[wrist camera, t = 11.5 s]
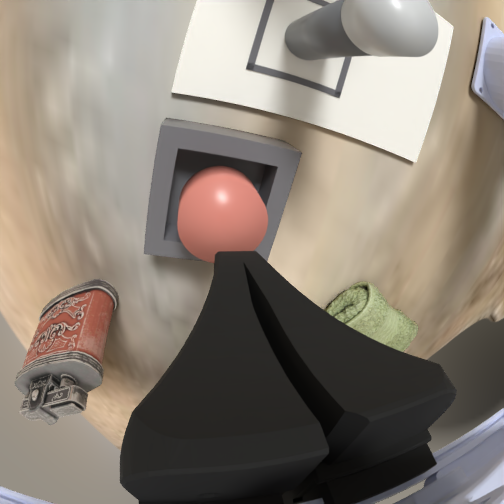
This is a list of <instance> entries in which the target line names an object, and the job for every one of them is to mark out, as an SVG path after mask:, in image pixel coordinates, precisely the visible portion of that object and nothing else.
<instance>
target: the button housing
mask: <svg viewBox="0 0 504 504" xmlns="http://www.w3.org/2000/svg"><path fill="white" fill-rule="evenodd" d="M301 154H302V153H301V152H300V151H299V150H297V149H296V148H294V147H293V146H291V145H290V144H288V143H287V142H285V141H282V140H278V139H274V138H270V137H266V136H262V135H257V134H253V133H248V132H244V131H239V130H234V129H229V128H224V127H219V126H214V125H208V124H202V123H197V122H190V121H184V120H178V119H171V118H166V119H165V120H164V122H163V123H162V124H161V127H160V133H159V138H158V144H157V150H156V156H155V162H154V169H153V175H152V182H151V190H150V198H149V206H148V215H147V224H146V234H145V245H144V254H148V255H156V256H164V257H173V258H181V259H189V260H198V261H204V260H202V259H199V258H197V257H196V256H194V255H193V254H191V253H190V252H189V251H188V250H187V249H186V248H185V246H184V245H183V243H182V241H181V239H180V237H179V234H178V227H177V221H178V208H179V197H180V193H181V191H182V188H183V187H184V185H185V183H186V182H187V181H188V180H189V179H190V178H191V177H192V176H193V175H194V174H195V173H197V172H199V171H200V170H203V169H205V168H208V167H213V166H227V167H231V168H234V169H237V170H239V171H240V172H242V173H243V174H245V175H246V176H247V177H248V178H249V179H250V181H251V182H252V184H253V185H254V187H255V189H256V190H257V192H258V194H259V196H260V197H261V199H262V201H263V203H264V204H265V207H266V210H267V214H268V226H267V231H266V234H265V236H264V238H263V240H262V241H261V243H260V244H259V246H258V247H257V248H256V249H255V250H254V251H256V252H258V253H259V254H260V255H261V256H262V257H263V258H264V259H265V260H266V261H267V260H268V257H269V254H270V251H271V248H272V245H273V242H274V239H275V236H276V233H277V230H278V227H279V224H280V220H281V217H282V214H283V211H284V208H285V205H286V202H287V199H288V195H289V192H290V189H291V186H292V183H293V180H294V176H295V173H296V170H297V167H298V164H299V161H300V157H301Z"/></svg>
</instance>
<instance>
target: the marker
mask: <svg viewBox="0 0 504 504" xmlns="http://www.w3.org/2000/svg"><path fill="white" fill-rule="evenodd" d="M437 39H438V22H437V18H436V15H435V12H434V10H433V8H432V6H431V4H430V3H429V1H428V0H338V1H335V2H333V3H331V4H328V5H326V6H324V7H322V8H320V9H317V10H315V11H313V12H311V13H309V14H307V15H305V16H303V17H301V18H299V19H297V20H295V21H293V22H292V23H291V24H290V25H289V26H288V27H287V29H286V32H285V42H286V45H287V47H288V49H289V50H290V52H291V53H292V54H294V55H295V56H296V57H298V58H300V59H303V60H319V59H329V58H340V57H355V56H378V57H422V56H425V55H427V54H428V53H429V52H431V51H432V49H433V48H434V46H435V45H436V42H437Z"/></svg>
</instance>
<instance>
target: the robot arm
mask: <svg viewBox="0 0 504 504" xmlns="http://www.w3.org/2000/svg"><path fill="white" fill-rule="evenodd" d="M471 87H472V90H473V92H474V93H476V94H477V95H478V96H479V97H480V98H481V99H482V100H483V101H484V102H486V103H487V104H488V105H489V106H490V107H491V108H492V109H493V110H494V111H495V112H496V113H497V114H498V115H499V116H500V117H501V118H502V119H503V120H504V34H503V33H502V32H501V30H500V29H499V28H498V27H497V26H496V25H495V24H494V23H493V22H492V21H491V20H490V18H488V17H485V18H484V19H483V26H482V33H481V40H480V46H479V51H478V57H477V62H476V67H475V71H474V76H473V80H472V85H471ZM455 396H456V389H455V387H454V386H453V384H452V382H451V381H450V379H449V378H448V376H447V375H446V373H445V372H444V370H443V369H442V367H441V366H440V365H439V364H437V363H433V362H431V361H428V360H424V359H421V358H418V357H415V356H412V355H409V354H406V353H404V352H401V351H399V350H396V349H394V348H392V347H389V346H387V345H385V344H382V343H380V342H378V341H376V340H374V339H372V338H370V337H368V336H366V335H364V334H362V333H360V332H359V331H357V330H355V329H353V328H351V327H349V326H348V325H346V324H344V323H343V322H341V321H339V320H338V319H336V318H335V317H333V316H332V315H330V314H329V313H327V312H326V311H324V310H323V309H321V308H320V307H319V306H317V305H316V304H315V303H313V302H312V301H311V300H309V299H308V298H307V297H306V296H304V295H303V294H302V293H301V292H299V291H298V290H297V289H296V288H295V287H294V286H292V285H291V284H290V283H289V282H288V281H287V280H286V279H285V278H284V277H282V276H281V275H280V274H279V273H278V272H277V271H276V270H275V269H274V268H273V267H272V266H271V265H270V264H269V263H268V262H267V261H266V260H265V259H264V258H263V257H262V256H261V255H260V254H259V253H258V252H256V251H218V252H217V253H216V254H215V260H214V276H213V280H212V283H211V287H210V290H209V293H208V296H207V298H206V301H205V304H204V306H203V309H202V311H201V313H200V316H199V318H198V320H197V322H196V324H195V326H194V328H193V330H192V332H191V333H190V335H189V337H188V339H187V340H186V342H185V344H184V346H183V347H182V349H181V350H180V352H179V354H178V355H177V357H176V358H175V360H174V361H173V362H172V364H171V365H170V366H169V368H168V369H167V371H166V372H165V373H164V375H163V376H162V378H161V379H160V380H159V381H158V383H157V384H156V385H155V386H154V388H153V389H152V390H151V391H150V392H149V393H148V395H147V396H146V397H145V398H144V399H143V400H142V401H141V403H140V404H139V405H138V406H137V407H136V408H135V409H134V410H133V412H132V414H131V417H130V420H129V423H128V425H127V428H126V432H125V435H124V438H123V443H122V448H121V455H120V483H121V484H122V486H123V487H124V488H125V489H126V490H127V491H128V492H129V493H131V494H132V495H133V496H134V497H136V498H137V499H138V500H139V504H375V503H377V502H380V501H382V500H384V499H386V498H389V497H391V496H393V495H395V494H397V493H400V492H402V491H404V490H406V489H408V488H410V487H412V486H414V485H416V484H418V483H419V482H421V481H423V480H425V479H426V481H425V483H424V487H423V488H422V489H421V490H419V491H417V492H415V493H413V494H411V495H409V496H408V497H406V498H404V499H402V500H400V501H398V502H396V503H394V504H504V408H503V409H501V410H500V411H498V412H497V413H496V414H494V415H493V416H492V417H490V418H489V419H487V420H486V421H485V422H483V423H482V424H480V425H479V426H477V427H476V428H475V429H473V430H471V431H470V432H468V433H466V434H465V435H463V436H462V437H460V438H459V439H457V440H455V441H453V442H452V443H450V444H448V445H447V446H445V447H443V448H441V449H440V450H438V451H436V452H434V453H432V452H431V451H430V449H429V447H428V445H427V443H428V442H429V441H431V435H430V433H429V431H428V430H427V429H428V428H429V427H430V426H431V425H432V424H433V423H434V422H435V421H436V420H437V419H438V418H439V417H440V416H441V415H442V414H443V413H444V412H445V411H446V410H447V408H448V407H449V406H450V405H451V404H452V402H453V401H454V399H455ZM0 504H56V503H52V502H48V501H44V500H41V499H37V498H34V497H31V496H27V495H24V494H21V493H18V492H15V491H13V490H10V489H7V488H4V487H2V486H0Z"/></svg>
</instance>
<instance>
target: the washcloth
mask: <svg viewBox="0 0 504 504" xmlns="http://www.w3.org/2000/svg"><path fill="white" fill-rule="evenodd" d="M324 311H326V312H327V313H329V314H330V315H332V316H333V317H335V318H336V319H338V320H339V321H341V322H343V323H344V324H346V325H348V326H349V327H351V328H353V329H355V330H357V331H359V332H360V333H362V334H364V335H366V336H368V337H370V338H372V339H374V340H376V341H378V342H380V343H382V344H385V345H387V346H389V347H392V348H394V349H396V350H399V351H401V352H403V351H405V349H407V348H408V346H409V345H410V343H411V341H412V340H413V339H414V337H415V336H416V335H417V331H418V325H416V323H415V321H414V322H413V321H411V320H410V319H409V318H407V316H405V315H404V314H403V312H400V311H401V310H398V309H397V310H396V309H394V308H392V307H391V306H390V305H388V303H387V301H386V299H384V297H383V295H382V294H381V293H380V292H379V290H378V289H377V288H376V287H375V286H374V285H373V284H372V283H370V282H359V283H356V284H354V285H352V286H351V287H350V288H349V289H348V290H346V291H345V292H343V293H342V294H340V295H339V296H338V297H337V298H336V299H335V300H334V301H333V302H332V303H331V304H330V305H329V306H328V307H327V308H326V309H324Z"/></svg>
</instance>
